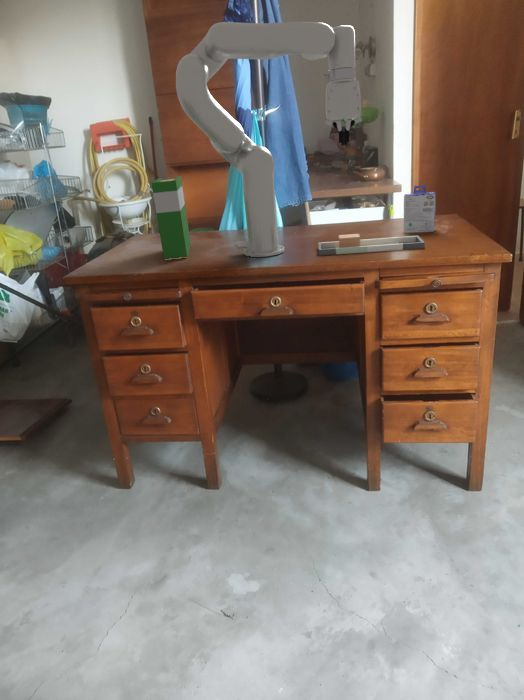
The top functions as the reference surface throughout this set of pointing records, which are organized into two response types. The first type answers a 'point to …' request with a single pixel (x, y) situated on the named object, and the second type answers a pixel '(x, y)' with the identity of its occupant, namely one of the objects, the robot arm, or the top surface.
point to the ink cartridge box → (419, 211)
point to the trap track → (373, 245)
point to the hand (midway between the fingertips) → (344, 145)
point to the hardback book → (171, 217)
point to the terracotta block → (349, 240)
